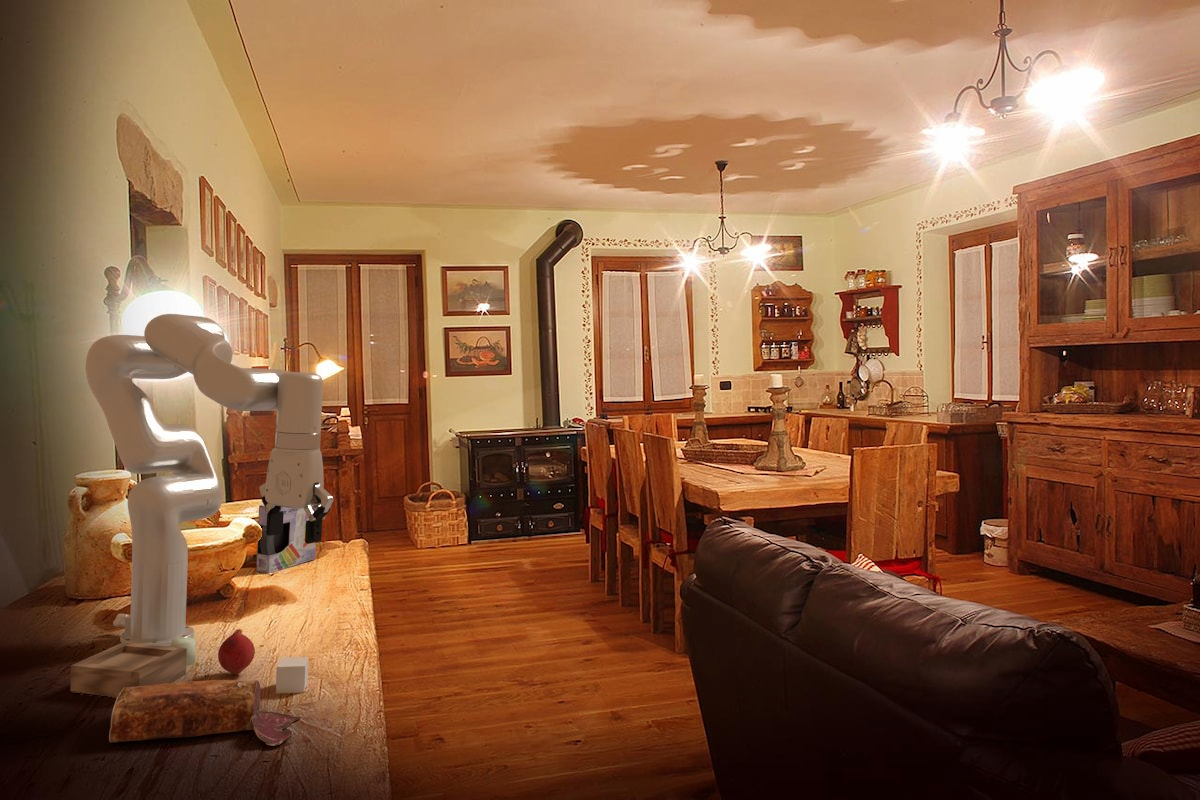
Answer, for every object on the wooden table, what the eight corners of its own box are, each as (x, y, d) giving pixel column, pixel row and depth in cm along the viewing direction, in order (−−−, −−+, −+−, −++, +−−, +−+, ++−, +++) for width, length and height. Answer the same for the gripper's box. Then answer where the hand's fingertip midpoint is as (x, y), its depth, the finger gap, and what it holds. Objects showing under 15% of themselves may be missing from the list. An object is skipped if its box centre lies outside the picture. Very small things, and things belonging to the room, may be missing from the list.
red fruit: (240, 682, 142) (241, 636, 142) (209, 678, 143) (211, 632, 143) (260, 671, 148) (262, 626, 148) (231, 667, 149) (233, 622, 149)
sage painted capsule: (165, 665, 149) (165, 643, 148) (179, 658, 153) (180, 636, 152) (186, 667, 148) (186, 645, 148) (199, 660, 152) (200, 638, 152)
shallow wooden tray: (70, 693, 135) (71, 665, 134) (122, 667, 146) (123, 642, 146) (138, 700, 133) (139, 672, 133) (185, 674, 145) (186, 648, 145)
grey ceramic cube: (275, 693, 139) (276, 666, 138) (279, 683, 143) (280, 657, 143) (304, 692, 140) (305, 666, 139) (307, 682, 144) (308, 657, 144)
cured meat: (297, 748, 120) (299, 701, 119) (99, 764, 112) (101, 713, 112) (303, 702, 137) (305, 661, 137) (132, 713, 130) (134, 669, 130)
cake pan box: (266, 574, 214) (269, 506, 214) (251, 572, 216) (254, 504, 216) (317, 560, 232) (319, 497, 232) (302, 558, 234) (305, 495, 233)
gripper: (246, 438, 149) (242, 534, 149) (316, 448, 141) (311, 549, 141) (281, 437, 155) (276, 528, 156) (349, 445, 147) (344, 542, 148)
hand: (293, 538), depth 149 cm, fingers open, 9 cm apart
